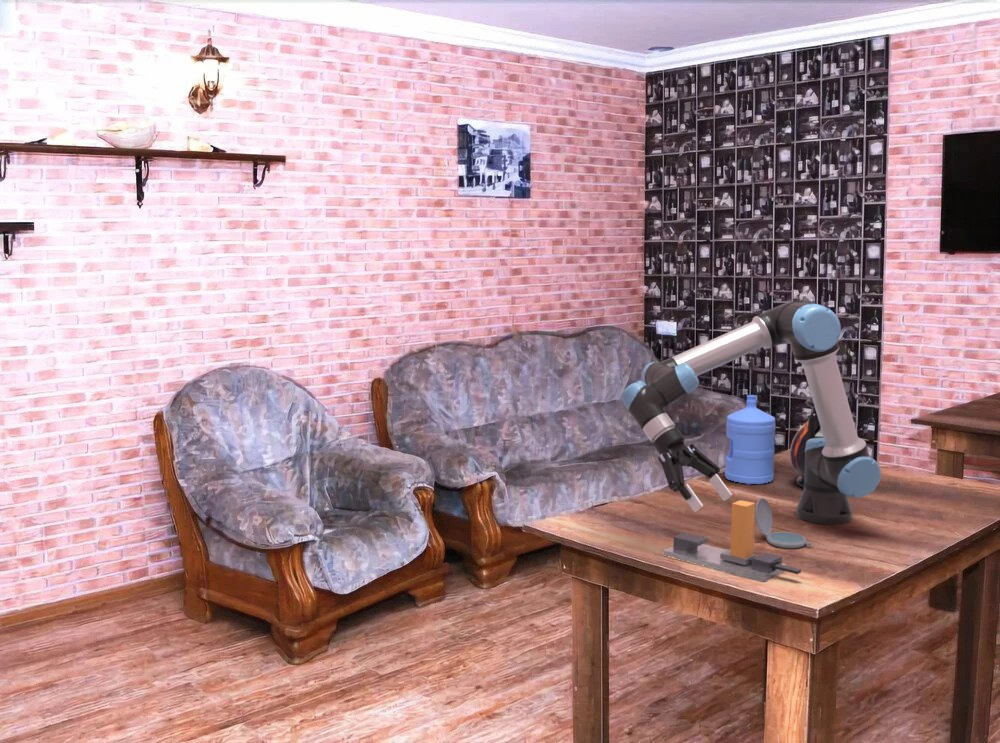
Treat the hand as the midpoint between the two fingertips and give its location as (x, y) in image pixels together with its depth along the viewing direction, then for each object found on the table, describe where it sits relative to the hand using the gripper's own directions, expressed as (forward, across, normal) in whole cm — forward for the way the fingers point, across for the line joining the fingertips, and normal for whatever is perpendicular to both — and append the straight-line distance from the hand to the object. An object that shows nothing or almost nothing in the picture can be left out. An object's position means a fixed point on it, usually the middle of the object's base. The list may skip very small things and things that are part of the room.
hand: (714, 503), depth 245 cm
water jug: (-13, -79, -34) cm, 87 cm away
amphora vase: (+2, -86, -19) cm, 88 cm away
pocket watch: (+15, -26, -6) cm, 30 cm away
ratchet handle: (+18, -1, 0) cm, 18 cm away
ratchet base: (+12, -1, -8) cm, 15 cm away
